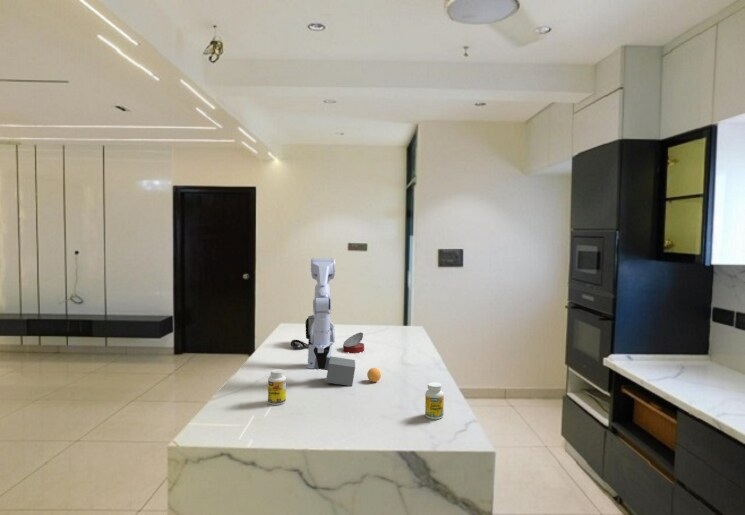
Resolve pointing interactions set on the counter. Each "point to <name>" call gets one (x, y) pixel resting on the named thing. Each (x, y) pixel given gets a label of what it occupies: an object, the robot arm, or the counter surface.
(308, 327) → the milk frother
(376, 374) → the ball
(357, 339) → the canned food
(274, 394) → the supplement bottle
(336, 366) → the grey blocky piece
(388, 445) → the counter surface
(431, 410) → the supplement bottle
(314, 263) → the robot arm
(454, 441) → the counter surface
